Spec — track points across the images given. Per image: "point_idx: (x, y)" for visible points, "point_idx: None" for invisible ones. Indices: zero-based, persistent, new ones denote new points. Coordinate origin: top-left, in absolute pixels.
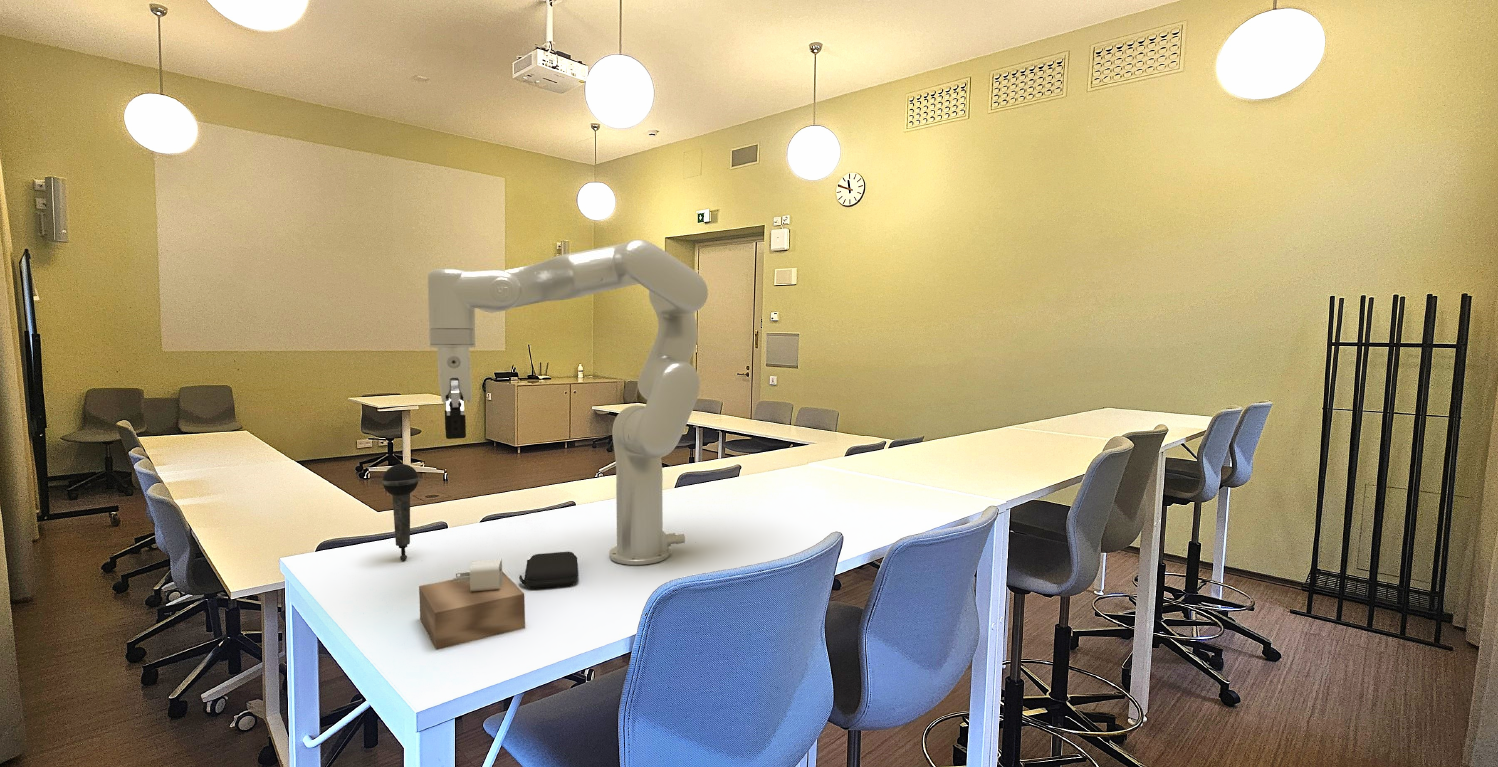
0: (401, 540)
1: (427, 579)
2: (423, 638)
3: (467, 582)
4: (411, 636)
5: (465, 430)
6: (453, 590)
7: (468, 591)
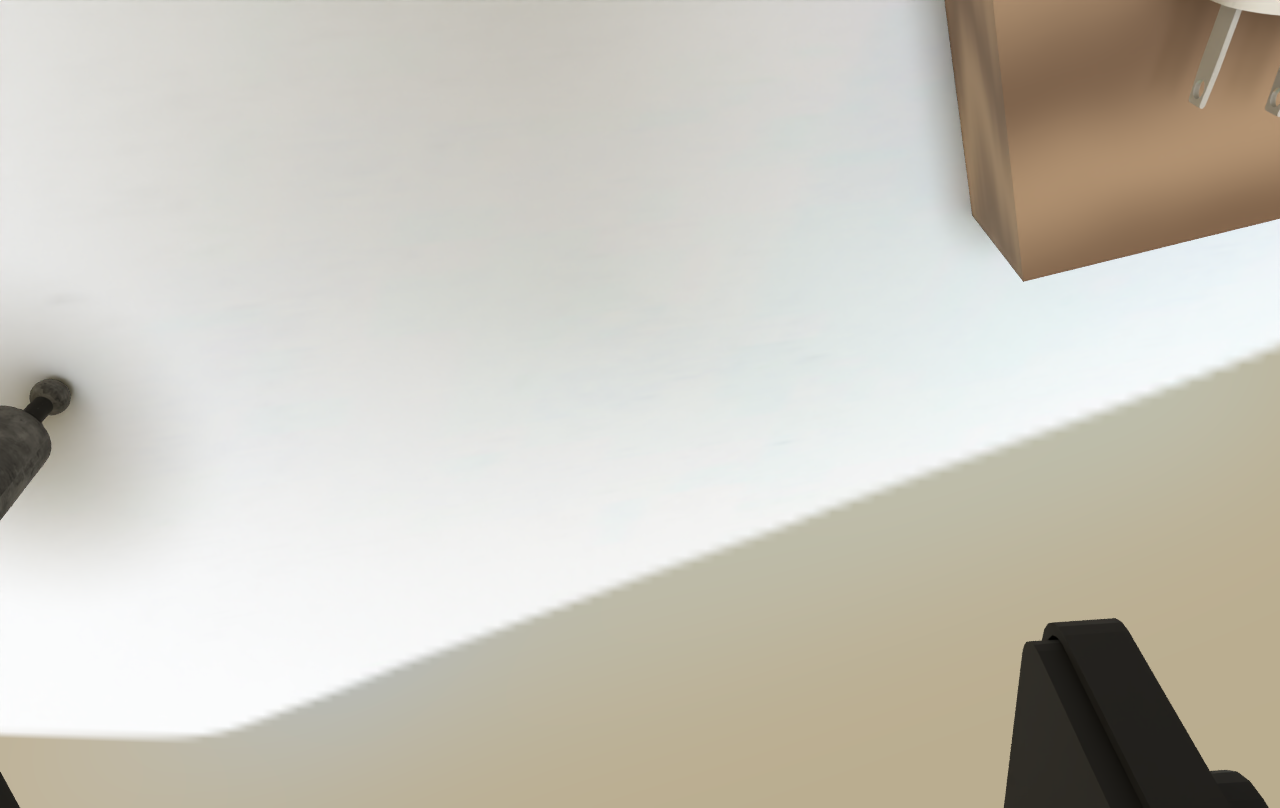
0: (35, 457)
1: (404, 239)
2: None
3: (1108, 24)
4: None
5: (1171, 724)
6: None
7: None
